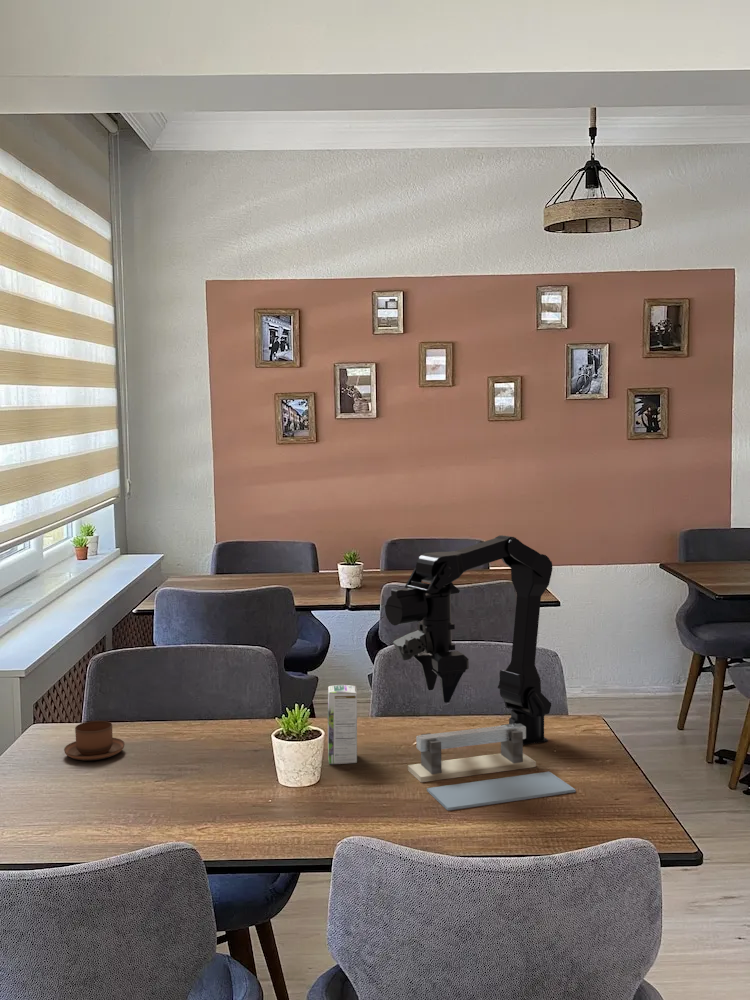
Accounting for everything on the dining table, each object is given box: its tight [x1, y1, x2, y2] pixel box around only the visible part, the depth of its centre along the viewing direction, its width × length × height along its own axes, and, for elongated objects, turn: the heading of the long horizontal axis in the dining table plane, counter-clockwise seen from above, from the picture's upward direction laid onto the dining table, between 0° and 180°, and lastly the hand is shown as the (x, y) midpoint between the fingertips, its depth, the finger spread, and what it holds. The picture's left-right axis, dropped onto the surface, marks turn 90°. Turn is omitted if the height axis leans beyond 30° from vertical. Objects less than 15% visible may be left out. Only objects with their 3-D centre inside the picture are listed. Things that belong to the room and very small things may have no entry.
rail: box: [415, 723, 526, 753], centre depth 197 cm, size 22×2×2 cm, turn 108°
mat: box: [426, 771, 576, 811], centre depth 186 cm, size 25×10×1 cm, turn 108°
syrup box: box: [327, 684, 358, 765], centre depth 204 cm, size 6×6×14 cm
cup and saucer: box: [63, 720, 126, 761], centre depth 209 cm, size 12×12×6 cm
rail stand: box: [407, 723, 537, 783], centre depth 198 cm, size 24×7×7 cm, turn 108°
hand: (438, 695), depth 201 cm, fingers open, 9 cm apart
